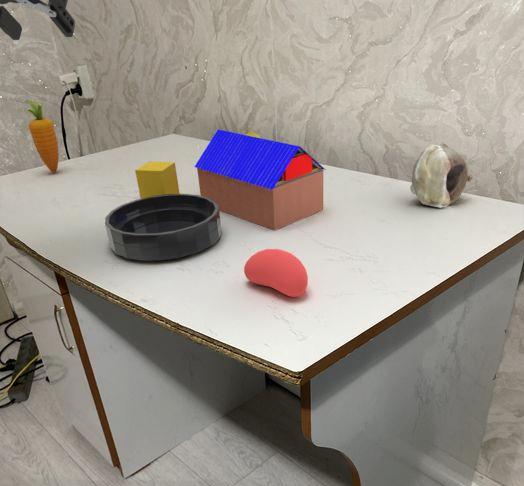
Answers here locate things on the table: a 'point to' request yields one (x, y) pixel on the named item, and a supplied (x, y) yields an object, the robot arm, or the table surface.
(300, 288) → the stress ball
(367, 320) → the table surface
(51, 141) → the carrot
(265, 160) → the house
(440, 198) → the sea shell
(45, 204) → the table surface
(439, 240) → the table surface
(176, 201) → the bowl
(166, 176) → the sponge
